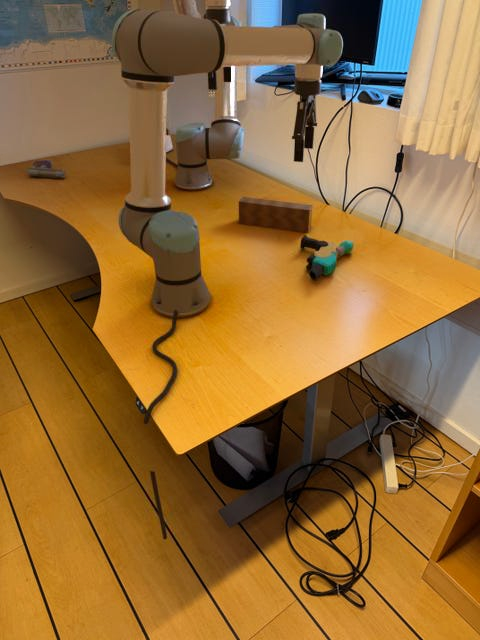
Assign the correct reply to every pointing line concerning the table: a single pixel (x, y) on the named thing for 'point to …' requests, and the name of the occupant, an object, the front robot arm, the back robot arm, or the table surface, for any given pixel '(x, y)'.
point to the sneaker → (168, 141)
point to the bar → (275, 214)
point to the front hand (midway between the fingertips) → (303, 154)
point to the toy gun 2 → (323, 255)
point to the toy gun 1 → (45, 170)
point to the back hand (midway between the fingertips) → (220, 85)
